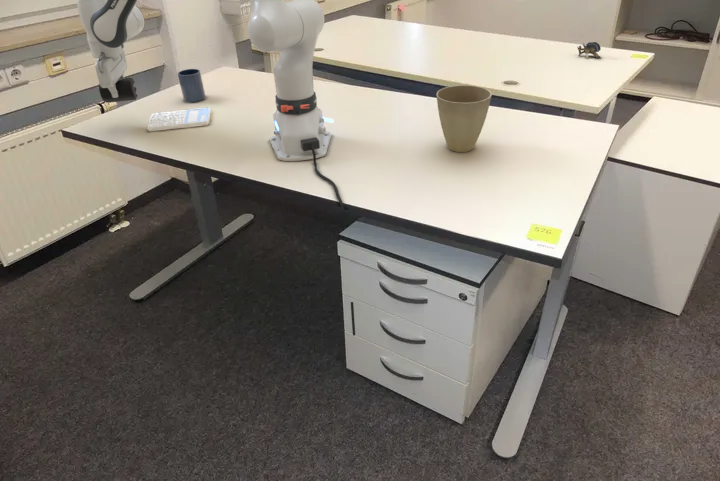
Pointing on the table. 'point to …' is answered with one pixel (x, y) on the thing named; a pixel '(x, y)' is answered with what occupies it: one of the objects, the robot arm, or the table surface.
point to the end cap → (120, 91)
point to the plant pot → (462, 114)
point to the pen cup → (191, 85)
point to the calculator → (179, 119)
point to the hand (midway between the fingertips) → (119, 92)
